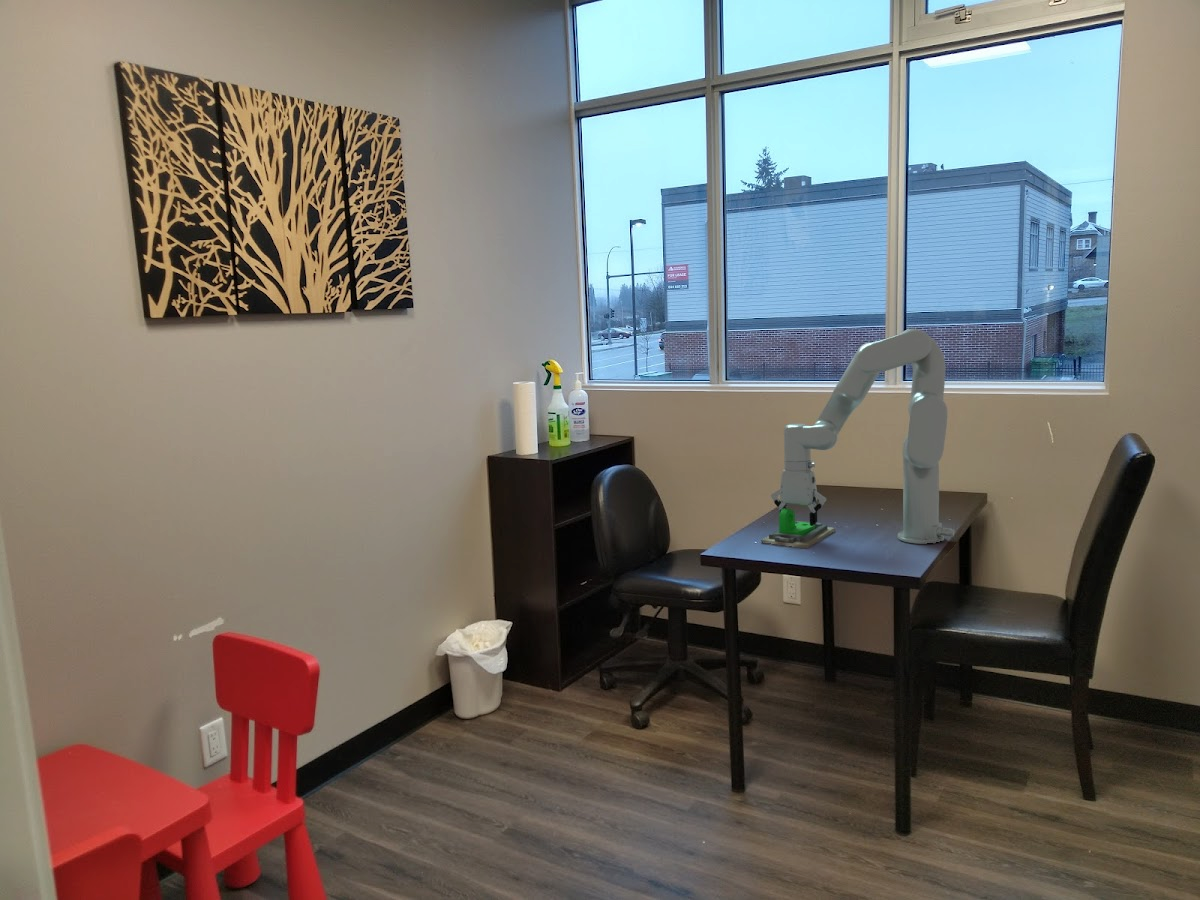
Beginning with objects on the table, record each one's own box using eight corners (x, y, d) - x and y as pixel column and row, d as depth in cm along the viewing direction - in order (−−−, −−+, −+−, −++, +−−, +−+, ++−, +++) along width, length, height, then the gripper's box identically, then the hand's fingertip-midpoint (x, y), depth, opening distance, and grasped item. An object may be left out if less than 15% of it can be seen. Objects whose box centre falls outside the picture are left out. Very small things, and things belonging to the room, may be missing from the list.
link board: (835, 531, 261) (834, 522, 260) (806, 548, 243) (806, 539, 243) (791, 526, 269) (791, 518, 268) (761, 543, 251) (761, 534, 251)
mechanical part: (797, 539, 250) (796, 512, 248) (779, 536, 254) (778, 510, 253) (818, 530, 258) (817, 504, 257) (800, 528, 262) (800, 502, 261)
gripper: (830, 465, 251) (831, 523, 253) (775, 462, 261) (776, 518, 263) (821, 469, 245) (822, 529, 247) (764, 466, 255) (766, 523, 257)
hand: (798, 523), depth 255 cm, fingers open, 8 cm apart
